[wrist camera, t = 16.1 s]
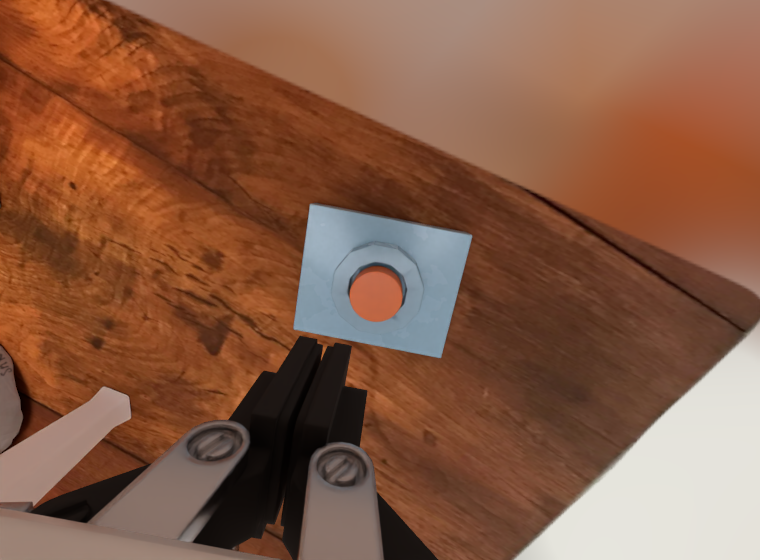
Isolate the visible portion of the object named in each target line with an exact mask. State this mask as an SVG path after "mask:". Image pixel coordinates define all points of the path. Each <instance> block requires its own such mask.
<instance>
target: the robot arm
mask: <svg viewBox="0 0 760 560" xmlns="http://www.w3.org/2000/svg"><path fill="white" fill-rule="evenodd" d="M351 347H352V346H350V345H345V344H340V343H335V344H334V347H331V346H327V348H326V351H325V353H324V355H323V358H322V360H321V355H322V349H323V345H321V344H317V339H314V338H308V337H303V336H300V337H299V338H298V340H297V341H296V343H295V345H294V346H293V348H292V349H291V351H290V353H289V354H288V356H287V357H286V359H285V361H284V362H283V364H282V365H281V367H280V368H279V370H278V372H277V373H273V372H268V371H263V372H262V373H261V375H260V376H259V377H258V379H257V380H256V382H255V383H254V384H253V386H252V387H251V389H250V390H249V392H248V393H247V394H246V396H245V397H244V399H243V400H242V401H241V403H240V404H239V406H238V407H237V409H236V410H235V411H234V413H233V414H232V416H231V417H230V418H229V420H213V421H208V422H204V423H202V424H200V425H197V426H195V427H193V428H192V429H191V430H189V431H188V432H186V433H185V434H184V435H183V436H182V437H181V438H180V439H179V440H178V441H177V442H175V443H174V444H173V445H172V446H171V447H170V448H169V449H168V450H167V451H165V452H164V453H163V454H162V455H161V456H160V457H159V458H158V459H157V460H156V461H154V462H153V463H152V464H149V465H146V466H143V467H140V468H137V469H134V470H132V471H129V472H126V473H123V474H120V475H117V476H115V477H112V478H109V479H106V480H103V481H100V482H97V483H95V484H92V485H89V486H86V487H83V488H80V489H77V490H75V491H72V492H69V493H66V494H63V495H60V496H58V497H56V498H54V499H51V500H49V501H47V502H45V503H43V504H41V505H40V506H38V507H37V508H33V502H0V560H281V559H276V558H270V557H265V556H260V555H255V554H249V553H244V552H239V544H241V543H243V542H244V541H246V540H248V539H250V538H251V537H253V538H258V539H261V538H262V535H263V532H264V530H265V527H266V524H267V523H268V524H273V525H274V524H275V522H276V519H277V516H278V514H279V511H280V508H281V505H282V502H283V500H284V504H283V511H282V518H281V526H284V532H283V538H282V541H283V543H284V545H285V547H286V548H287V550H288V552H289V553H290V555H291V557H292V559H293V560H438V559H437V558H436V557H435V556H434V554H433V553H432V552H431V551H430V550H429V549H428V548H427V547H426V546H425V545H424V543H423V542H422V541H421V540H420V539H419V538H418V537H417V536H416V535H415V533H414V532H413V531H412V530H411V529H410V528H409V527H408V526H407V525H406V524H405V522H404V521H403V520H402V519H401V518H400V517H399V516H398V515H397V514H396V512H395V511H394V510H393V509H392V508H391V507H390V506H389V505H388V504H387V503H386V501H385V500H384V499H383V498H382V497H381V496H380V495H379V494H378V493H377V491H376V481H375V472H374V466H373V463H372V460H371V458H370V457H369V455H368V454H367V453H366V452H365V451H364V450H362V449H361V448H360V440H361V433H362V426H363V418H364V411H365V404H366V397H367V390H362V389H357V388H352V387H347V386H345V381H346V376H347V370H348V364H349V359H350V353H351Z"/></svg>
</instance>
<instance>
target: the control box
mask: <svg viewBox="0 0 760 560" xmlns="http://www.w3.org/2000/svg"><path fill="white" fill-rule="evenodd" d="M471 239H472V235H471V234H469V233H468V232H463V231H458V230H453V229H448V228H443V227H438V226H432V225H427V224H422V223H417V222H412V221H407V220H402V219H397V218H391V217H386V216H381V215H376V214H371V213H366V212H361V211H356V210H351V209H345V208H340V207H335V206H330V205H325V204H320V203H312V204H310V208H309V215H308V223H307V230H306V238H305V245H304V253H303V260H302V268H301V275H300V283H299V290H298V298H297V305H296V313H295V320H294V328H293V329H295V330H300V331H305V332H310V333H315V334H320V335H325V336H330V337H335V338H340V339H345V340H351V341H356V342H361V343H366V344H371V345H376V346H381V347H386V348H391V349H396V350H401V351H406V352H412V353H417V354H422V355H427V356H432V357H437V358H441V356H442V352H443V348H444V344H445V340H446V336H447V332H448V329H449V325H450V321H451V317H452V313H453V309H454V305H455V301H456V298H457V294H458V290H459V286H460V282H461V278H462V274H463V270H464V266H465V263H466V259H467V255H468V251H469V247H470V243H471ZM371 266H383V267H386V268H388V269H390V270H392V271H393V272H394V273H395V274H396V275H397V276H398V277H399V279H400V281H401V284H402V295H403V299H402V304H401V307H400V309H399V310H398V312H397V313H396V314H395V315H394V316H393V317H391V318H390V319H388V320H385V321H381V322H372V321H368V320H365V319H363V318H361V317H360V316H359V315H358V314H357V313H356V312H355V311H354V310H353V308H352V306H351V303H350V298H349V294H350V289H351V286H352V284H353V282H354V280H355V278H356V276H357V275H358V274H359V273H360V272H361V271H362V270H364V269H366V268H368V267H371Z"/></svg>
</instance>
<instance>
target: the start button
mask: <svg viewBox="0 0 760 560" xmlns="http://www.w3.org/2000/svg"><path fill="white" fill-rule="evenodd" d="M349 298H350V303H351V306H352V308H353V310H354V311H355V312H356V313H357V314H358V315H359V316H360V317H361V318H363V319H365V320H368V321H372V322H381V321H385V320H388V319H390V318H391V317H393V316H394V315H395V314H396V313H397V312H398V310H399V309H400V307H401V304H402V299H403V295H402V284H401V281H400V279H399V277H398V276H397V275H396V274H395V273H394V272H393V271H392V270H390V269H388V268H386V267H383V266H371V267H368V268H366V269H364V270H362V271H361V272H360V273H359V274H358V275H357V276H356V278H355V280H354V282H353V284H352V286H351V289H350V294H349Z"/></svg>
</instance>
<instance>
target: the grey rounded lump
mask: <svg viewBox="0 0 760 560" xmlns="http://www.w3.org/2000/svg"><path fill="white" fill-rule="evenodd" d="M22 420H23V414H22V411H21V405H20V397H19V395H18V392H17V389H16V385H15V380H14V374H13V363H12V360H11V357H10V356H9V355H8V354H7V352H6V351H5V350H4V349H3V348H2V346H0V453H1V452H2V451H3V450H5V449H7V448H8V447H9V446H10V445H11V444H12V440H13V439H14V438H15V436H16V435H17V434H18V433H19V429H20V426H21V423H22Z"/></svg>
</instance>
